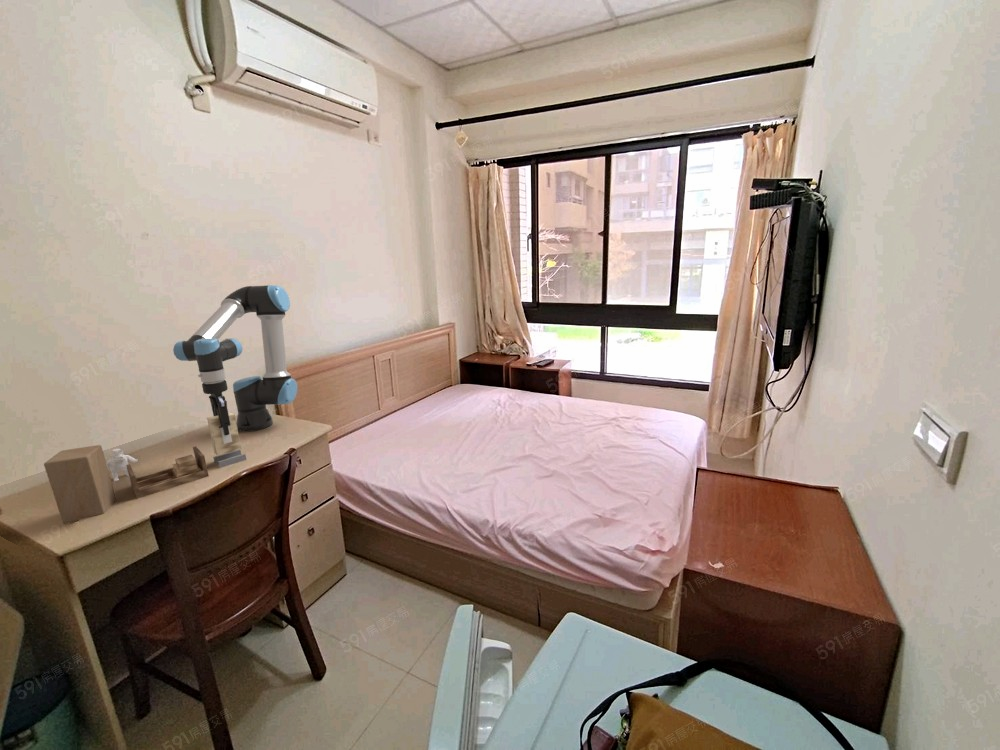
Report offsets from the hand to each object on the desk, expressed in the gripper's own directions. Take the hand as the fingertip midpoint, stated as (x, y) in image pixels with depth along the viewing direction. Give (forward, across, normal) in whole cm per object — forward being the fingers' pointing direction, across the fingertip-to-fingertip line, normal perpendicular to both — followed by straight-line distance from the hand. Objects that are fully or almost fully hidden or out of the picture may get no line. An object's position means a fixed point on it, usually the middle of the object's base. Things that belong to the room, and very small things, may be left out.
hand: (226, 440), depth 163 cm
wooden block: (+10, +5, -40) cm, 41 cm away
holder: (+9, 0, 0) cm, 9 cm away
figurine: (+10, -15, -30) cm, 35 cm away
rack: (+9, +2, -19) cm, 21 cm away
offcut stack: (+8, +2, -14) cm, 16 cm away
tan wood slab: (+4, 0, 0) cm, 4 cm away
